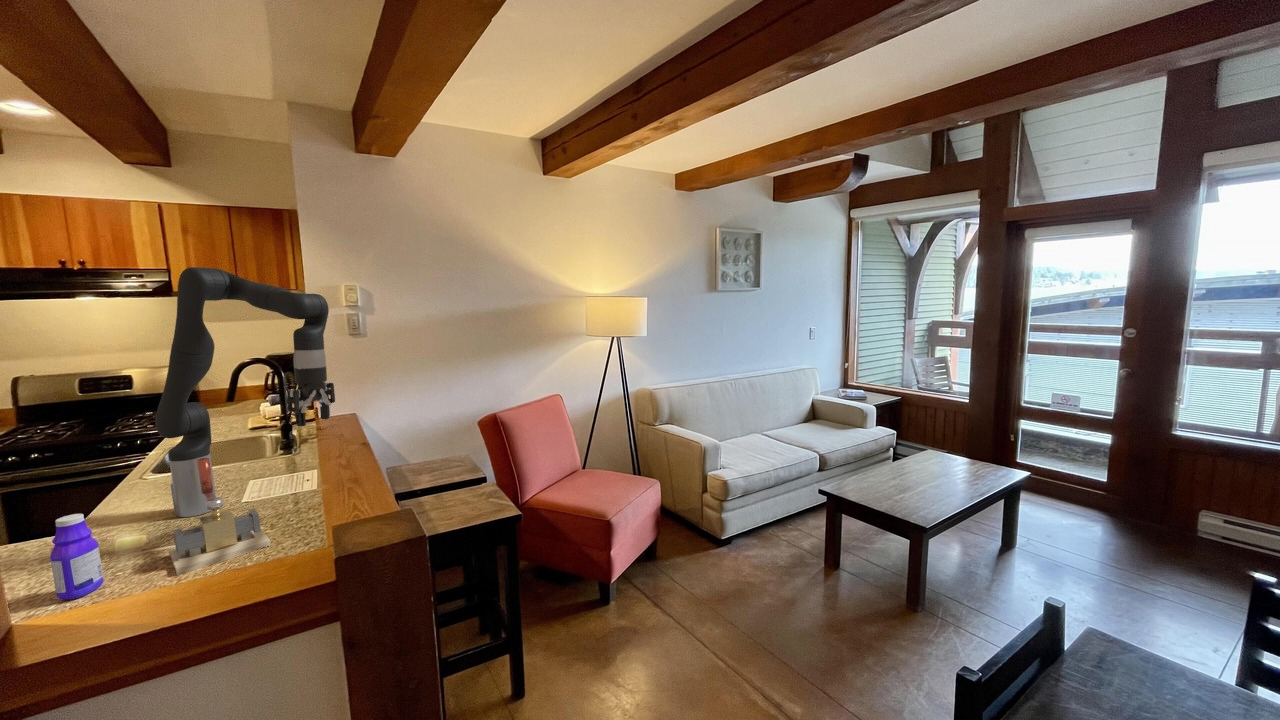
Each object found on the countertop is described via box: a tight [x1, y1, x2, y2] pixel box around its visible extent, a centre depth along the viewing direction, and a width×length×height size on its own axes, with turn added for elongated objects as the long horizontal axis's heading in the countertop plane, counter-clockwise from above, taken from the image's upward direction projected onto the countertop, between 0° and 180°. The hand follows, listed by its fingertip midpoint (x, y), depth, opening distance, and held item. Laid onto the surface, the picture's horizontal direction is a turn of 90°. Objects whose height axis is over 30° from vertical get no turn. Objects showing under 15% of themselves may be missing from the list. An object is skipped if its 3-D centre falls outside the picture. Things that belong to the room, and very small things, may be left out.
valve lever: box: [197, 458, 224, 510], centre depth 129 cm, size 3×13×10 cm, turn 48°
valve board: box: [168, 528, 272, 576], centre depth 127 cm, size 18×14×2 cm
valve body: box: [172, 507, 262, 557], centre depth 127 cm, size 16×6×10 cm, turn 138°
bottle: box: [49, 513, 104, 600], centre depth 109 cm, size 7×6×17 cm
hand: (313, 422), depth 141 cm, fingers open, 8 cm apart
